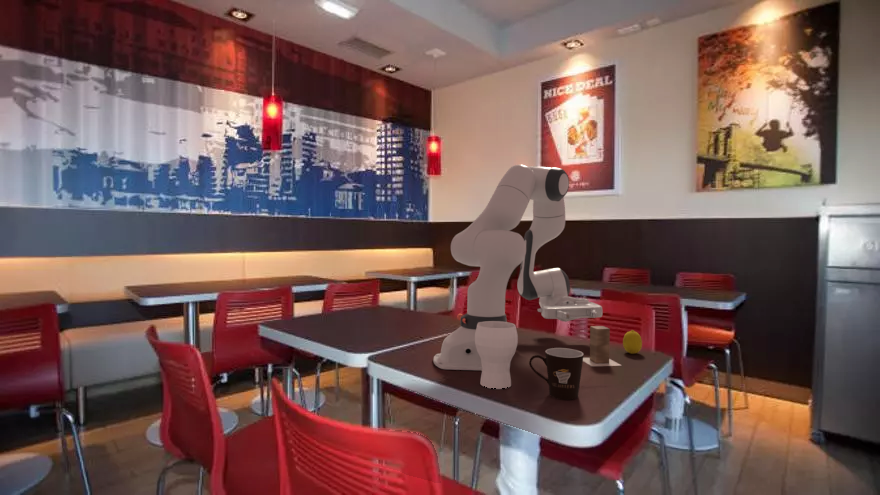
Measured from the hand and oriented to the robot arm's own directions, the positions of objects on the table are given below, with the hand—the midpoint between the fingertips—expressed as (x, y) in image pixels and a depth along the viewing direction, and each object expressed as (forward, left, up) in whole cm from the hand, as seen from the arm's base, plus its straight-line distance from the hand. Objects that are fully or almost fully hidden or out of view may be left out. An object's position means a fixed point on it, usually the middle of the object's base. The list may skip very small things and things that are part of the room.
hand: (581, 315), depth 143 cm
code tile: (0, -13, -12) cm, 18 cm away
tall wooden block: (0, -13, -11) cm, 17 cm away
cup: (-35, -28, -12) cm, 47 cm away
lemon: (+15, -5, -12) cm, 20 cm away
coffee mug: (-22, -36, -12) cm, 44 cm away
